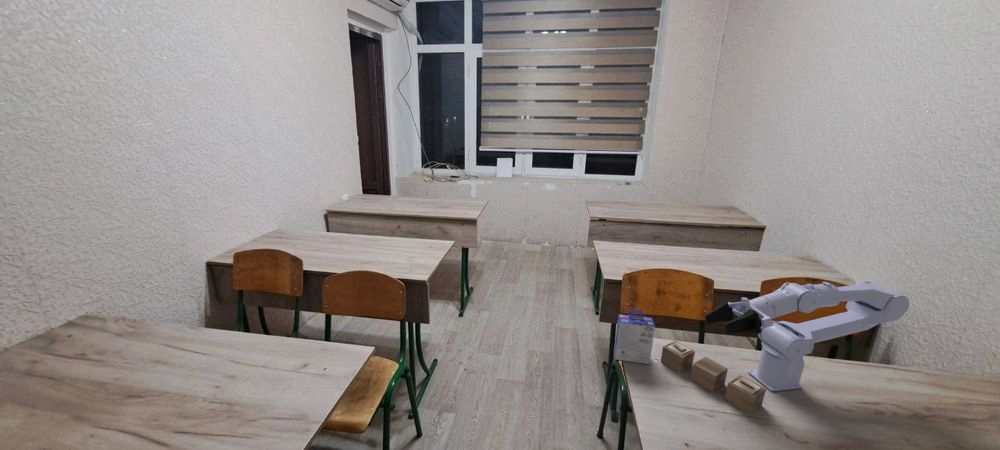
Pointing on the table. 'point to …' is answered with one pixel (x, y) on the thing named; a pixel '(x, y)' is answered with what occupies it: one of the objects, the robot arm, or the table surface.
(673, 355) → the numbered block seven
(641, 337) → the ink cartridge box
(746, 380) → the numbered block one
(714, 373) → the plain block
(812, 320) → the robot arm
